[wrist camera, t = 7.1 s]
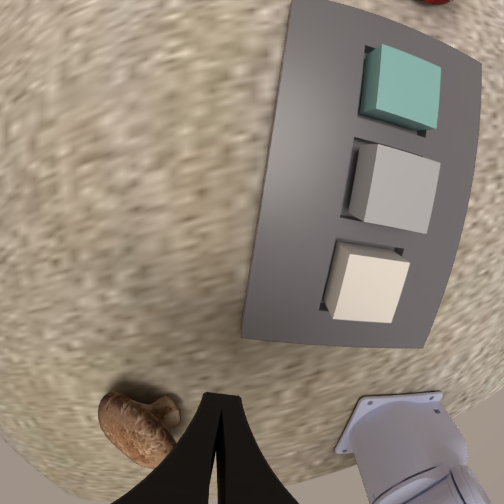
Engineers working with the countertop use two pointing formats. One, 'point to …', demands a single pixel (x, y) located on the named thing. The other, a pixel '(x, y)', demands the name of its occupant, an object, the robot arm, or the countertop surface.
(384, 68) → the teal key
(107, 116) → the countertop surface
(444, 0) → the soda can
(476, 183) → the countertop surface
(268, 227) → the keypad
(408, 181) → the grey key
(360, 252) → the ivory key
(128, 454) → the mushroom
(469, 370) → the countertop surface
